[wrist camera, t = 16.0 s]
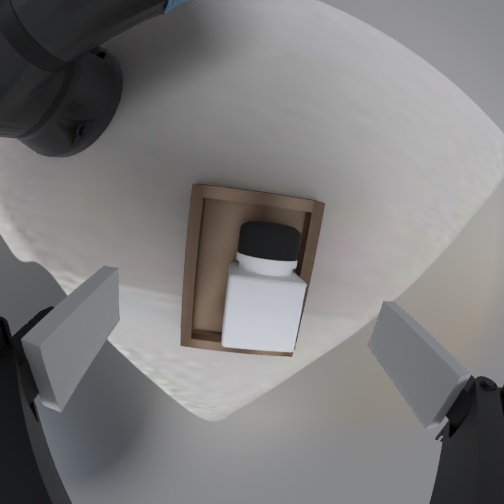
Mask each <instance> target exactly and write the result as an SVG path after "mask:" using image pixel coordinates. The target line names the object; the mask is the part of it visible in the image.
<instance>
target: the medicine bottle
mask: <svg viewBox="0 0 504 504" xmlns="http://www.w3.org/2000/svg"><path fill="white" fill-rule="evenodd" d="M300 241H301V233H300V232H299V231H298V230H297V229H296V228H294V227H291V226H288V225H284V224H278V223H270V222H263V221H249V222H246V223H243V224H242V225H241V226H240V234H239V241H238V249H237V257H236V259H237V260H238V261H239V262H231V263H230V265H229V272H228V280H227V288H226V297H225V305H224V314H223V325H222V341H221V344H222V346H223V347H228V348H238V349H249V350H261V351H275V352H293V351H294V350H295V346H296V341H297V337H298V332H299V327H300V322H301V316H302V311H303V306H304V300H305V295H306V289H307V284H306V283H305V282H304V281H303V280H302V279H301V278H300V277H299V276H298V275H297V274H296V273H294V272H293V269H295V268H296V267H297V261H298V254H299V247H300Z"/></svg>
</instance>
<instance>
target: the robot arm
mask: <svg viewBox="0 0 504 504" xmlns="http://www.w3.org/2000/svg"><path fill="white" fill-rule="evenodd" d="M189 1H192V0H0V137H8V138H17V139H18V140H20V141H21V142H22V143H24V144H25V145H26V146H28V147H29V148H31V149H32V150H33V151H35V152H36V153H38V154H41V155H44V156H49V157H66V156H71V155H74V154H76V153H78V152H80V151H82V150H84V149H85V148H87V147H88V146H89V145H90V144H92V143H93V142H94V141H95V140H96V139H97V138H98V137H99V136H100V135H101V134H102V132H103V131H104V130H105V128H106V127H107V126H108V124H109V122H110V121H111V119H112V117H113V115H114V113H115V111H116V109H117V106H118V103H119V100H120V96H121V90H122V75H121V70H120V67H119V64H118V63H117V61H116V59H115V58H114V57H113V56H112V55H111V54H110V53H109V52H108V51H107V50H106V49H104V48H103V47H101V46H99V45H101V44H102V43H104V42H106V41H108V40H109V39H111V38H113V37H114V36H116V35H118V34H120V33H122V32H124V31H125V30H127V29H129V28H131V27H133V26H135V25H137V24H139V23H141V22H143V21H146V20H148V19H150V18H152V17H155V16H157V15H159V14H161V15H163V14H166V13H168V12H170V11H171V9H173V8H175V7H178V6H180V5H182V4H185V3H187V2H189ZM119 320H120V316H119V289H118V268H114V267H108V266H103V267H102V268H101V269H100V270H98V271H97V272H96V273H95V274H93V275H92V276H91V277H90V278H89V279H87V280H86V281H85V282H84V283H83V284H81V285H80V286H79V287H78V288H77V289H75V290H74V291H73V292H72V293H71V294H70V295H68V296H67V297H66V298H65V299H64V300H63V301H62V302H60V303H59V304H58V305H57V306H56V307H49V308H46V309H44V310H42V311H40V312H39V313H38V314H37V315H36V316H34V318H33V319H31V320H30V321H29V322H28V324H26V325H24V326H23V327H22V328H21V329H20V330H19V331H18V332H17V333H16V334H15V335H14V336H11V333H10V329H9V325H8V322H7V320H6V319H5V318H3V317H0V504H72V503H71V501H70V499H69V496H68V494H67V492H66V490H65V488H64V486H63V483H62V481H61V479H60V477H59V474H58V472H57V469H56V467H55V464H54V461H53V459H52V456H51V453H50V450H49V448H48V444H47V441H46V438H45V435H44V432H43V429H42V425H41V422H40V418H39V414H38V411H37V407H36V404H35V402H34V399H35V397H36V396H37V395H38V393H39V395H40V398H41V400H42V402H43V405H45V406H47V407H50V408H52V409H54V410H57V411H59V412H62V410H63V408H64V406H65V405H66V403H67V401H68V399H69V398H70V396H71V395H72V393H73V391H74V390H75V388H76V386H77V385H78V383H79V381H80V380H81V378H82V377H83V375H84V373H85V372H86V370H87V368H88V367H89V365H90V363H91V362H92V361H93V359H94V358H95V356H96V354H97V353H98V351H99V350H100V348H101V347H102V345H103V344H104V342H105V341H106V339H107V338H108V336H109V335H110V333H111V332H112V330H113V329H114V327H115V326H116V325H117V323H118V322H119ZM368 347H369V349H370V350H371V351H372V353H373V354H374V355H375V357H376V358H377V360H378V361H379V363H380V364H381V366H382V367H383V368H384V370H385V371H386V373H387V374H388V376H389V377H390V378H391V380H392V381H393V383H394V384H395V386H396V387H397V389H398V390H399V391H400V393H401V394H402V396H403V397H404V399H405V400H406V402H407V403H408V405H409V406H410V407H411V409H412V411H413V412H414V414H415V415H416V417H417V418H418V420H419V421H420V423H421V424H422V425H423V427H424V429H425V430H427V429H431V428H434V427H437V426H438V425H439V424H440V423H441V421H442V420H443V419H444V417H445V416H446V417H447V418H448V419H449V421H448V422H447V423H446V425H445V426H444V427H443V429H442V430H441V431H440V433H439V434H438V435H437V437H436V440H438V439H439V437H440V436H443V438H442V439H441V440H440V441H441V442H442V449H441V455H440V460H439V466H438V471H437V475H436V480H435V484H434V488H433V492H432V496H431V500H430V504H504V385H503V387H502V388H498V387H497V385H496V383H494V382H493V381H492V380H491V379H489V378H486V377H482V376H480V377H477V378H476V379H475V378H474V377H473V376H472V375H471V373H470V372H469V371H468V370H467V369H466V368H465V367H464V366H463V365H462V364H461V363H460V362H459V361H457V359H456V358H455V357H454V356H452V354H451V353H450V352H449V351H448V350H446V349H445V348H444V347H443V346H442V345H441V344H440V343H439V342H438V341H437V340H436V339H435V338H434V337H433V336H432V335H431V334H430V333H428V332H427V331H426V330H425V329H424V328H423V327H422V326H421V325H420V324H419V323H418V322H417V321H416V320H414V319H413V318H412V317H411V316H410V315H409V314H408V313H407V312H406V311H405V310H403V309H402V308H401V307H400V306H399V305H398V304H397V303H395V302H389V301H383V304H382V307H381V310H380V313H379V316H378V319H377V322H376V325H375V327H374V330H373V333H372V335H371V338H370V340H369V343H368Z"/></svg>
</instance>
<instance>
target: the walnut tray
mask: <svg viewBox="0 0 504 504" xmlns="http://www.w3.org/2000/svg"><path fill="white" fill-rule="evenodd" d="M324 205H325V203H323V202H320V201H316V200H310V199H304V198H298V197H292V196H286V195H279V194H273V193H266V192H259V191H252V190H245V189H237V188H229V187H221V186H213V185H204V184H193V186H192V195H191V203H190V212H189V222H188V232H187V243H186V254H185V267H184V281H183V298H182V318H181V346H186V347H193V348H200V349H208V350H216V351H225V352H235V353H246V354H258V355H272V356H289V357H292V355H293V352H275V351H261V350H249V349H238V348H228V347H223V346H222V344H221V341H222V325H223V314H224V305H225V297H226V288H227V280H228V272H229V265H230V263H231V262H239V261H238V260H237V259H236V257H237V249H238V241H239V234H240V226H241V225H242V224H243V223H246V222H249V221H263V222H270V223H278V224H284V225H288V226H291V227H294V228H296V229H297V230H298V231H299V232H300V233H301V241H300V247H299V254H298V261H297V267H296V268H295V269H293V272H294V273H296V274H297V275H298V276H299V277H300V278H301V279H302V280H303V281H304V282H305V283H306V284H307V289H306V295H305V300H304V306H305V301H306V297H307V292H308V288H309V283H310V279H311V274H312V269H313V264H314V259H315V254H316V249H317V244H318V239H319V233H320V228H321V222H322V217H323V211H324ZM304 306H303V310H304ZM302 314H303V311H302ZM301 319H302V316H301ZM300 323H301V322H300Z"/></svg>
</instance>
